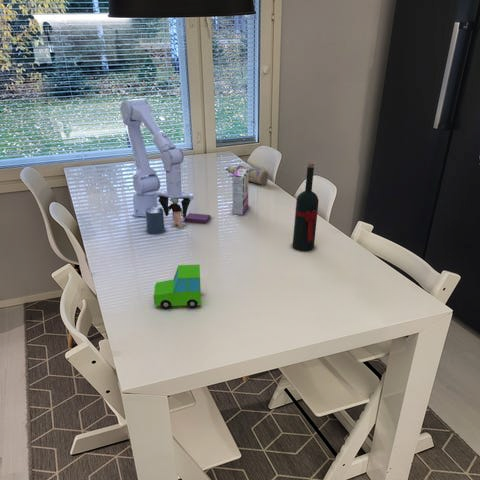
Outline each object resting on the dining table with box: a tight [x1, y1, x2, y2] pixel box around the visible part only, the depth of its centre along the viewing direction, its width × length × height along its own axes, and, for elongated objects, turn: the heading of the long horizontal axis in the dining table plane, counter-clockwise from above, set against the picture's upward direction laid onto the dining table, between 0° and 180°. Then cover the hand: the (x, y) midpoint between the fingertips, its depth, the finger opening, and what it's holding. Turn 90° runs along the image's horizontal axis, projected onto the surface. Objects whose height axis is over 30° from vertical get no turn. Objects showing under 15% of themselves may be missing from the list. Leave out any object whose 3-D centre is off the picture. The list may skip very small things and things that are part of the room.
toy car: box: [153, 264, 202, 310], centre depth 139 cm, size 10×13×10 cm
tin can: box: [145, 206, 166, 235], centre depth 185 cm, size 7×7×8 cm
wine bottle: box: [292, 162, 320, 252], centre depth 167 cm, size 8×10×30 cm
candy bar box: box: [232, 169, 249, 216], centre depth 204 cm, size 11×5×16 cm, turn 168°
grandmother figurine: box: [168, 198, 185, 229], centre depth 188 cm, size 8×4×13 cm, turn 65°
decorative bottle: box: [225, 164, 269, 186], centre depth 246 cm, size 26×8×7 cm, turn 48°
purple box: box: [183, 212, 211, 225], centre depth 198 cm, size 9×7×2 cm
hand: (175, 216), depth 190 cm, fingers closed on grandmother figurine, 7 cm apart
